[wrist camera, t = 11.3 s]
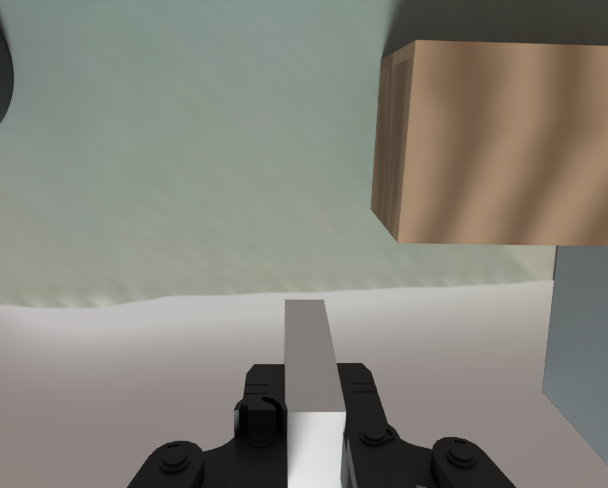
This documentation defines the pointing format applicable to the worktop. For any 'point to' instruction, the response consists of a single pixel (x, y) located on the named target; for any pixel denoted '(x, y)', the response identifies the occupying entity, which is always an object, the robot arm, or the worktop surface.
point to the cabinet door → (580, 343)
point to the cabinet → (493, 144)
